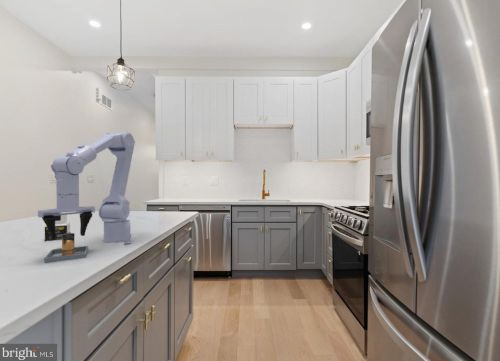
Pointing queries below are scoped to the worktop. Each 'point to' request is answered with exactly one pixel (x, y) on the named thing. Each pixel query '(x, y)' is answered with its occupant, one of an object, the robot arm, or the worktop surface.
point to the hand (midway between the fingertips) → (68, 237)
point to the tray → (67, 257)
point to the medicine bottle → (58, 227)
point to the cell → (68, 244)
